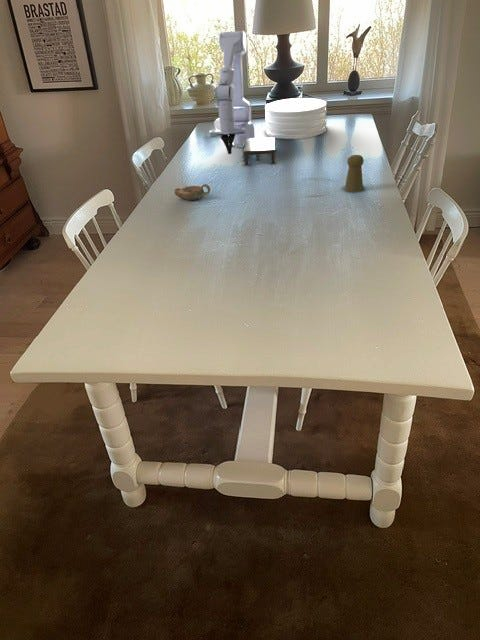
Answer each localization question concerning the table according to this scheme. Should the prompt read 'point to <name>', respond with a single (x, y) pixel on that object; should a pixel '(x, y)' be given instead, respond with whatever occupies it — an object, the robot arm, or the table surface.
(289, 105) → the plate stack
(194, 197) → the oil lamp
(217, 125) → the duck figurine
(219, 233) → the table surface
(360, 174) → the cork
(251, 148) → the desk
